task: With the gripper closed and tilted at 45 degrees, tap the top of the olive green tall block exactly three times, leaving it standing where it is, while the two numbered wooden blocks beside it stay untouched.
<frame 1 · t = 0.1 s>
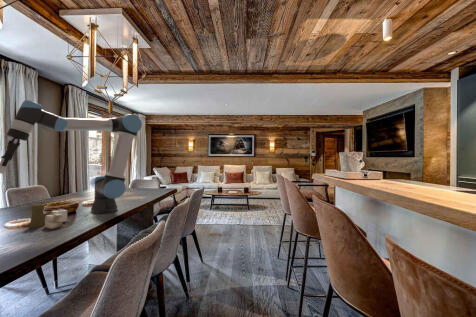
cream block numbered 7: (59, 221, 125), on the table
birch block numbered 1: (53, 226, 116), on the table
olive green tall block: (37, 226, 117), on the table
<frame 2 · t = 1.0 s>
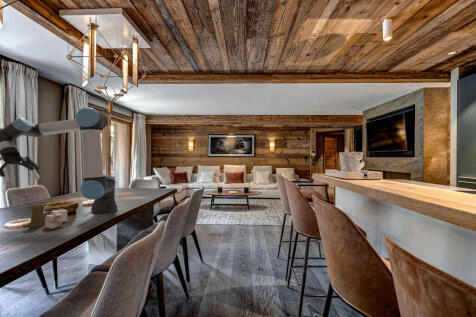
hand: (23, 180, 121), 23 cm above the table, tool tilted 45°, fingers open, 12 cm apart
nothing on the table moved.
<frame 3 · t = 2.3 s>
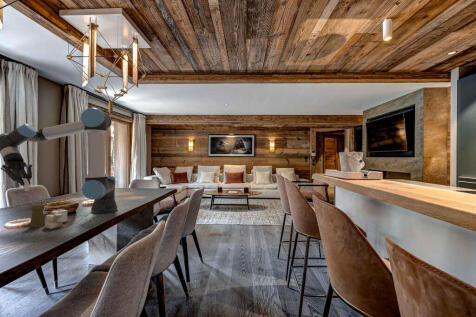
hand: (28, 189, 119), 18 cm above the table, tool tilted 45°, fingers closed
nothing on the table moved.
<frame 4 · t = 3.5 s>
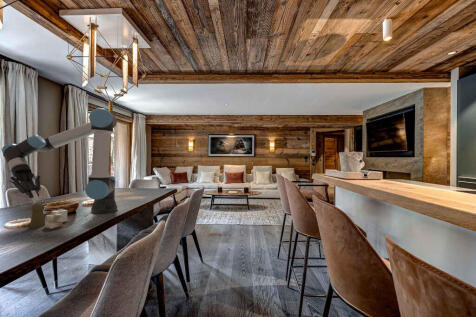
hand: (37, 202, 117), 12 cm above the table, tool tilted 45°, fingers closed
olive green tall block: (37, 226, 117), on the table, touching gripper
everything else where it was.
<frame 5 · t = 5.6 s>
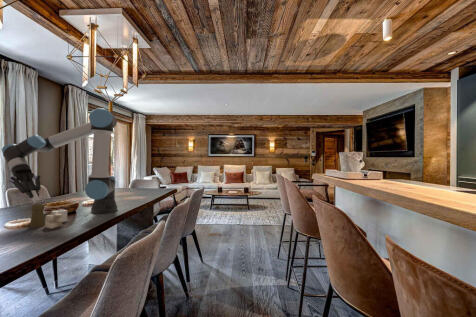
hand: (37, 201, 117), 12 cm above the table, tool tilted 45°, fingers closed
nothing on the table moved.
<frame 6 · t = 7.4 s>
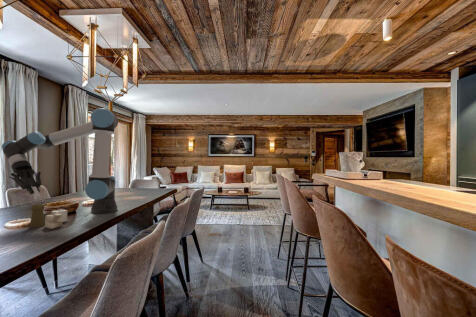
hand: (37, 197, 117), 14 cm above the table, tool tilted 45°, fingers closed
olive green tall block: (37, 226, 117), on the table
everything else where it was.
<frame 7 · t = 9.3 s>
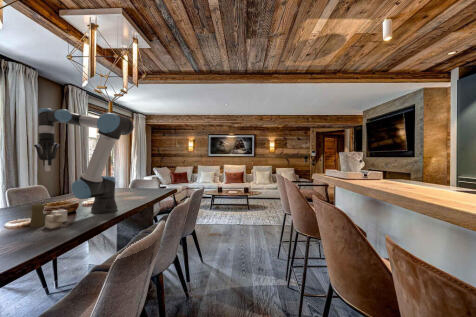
hand: (47, 170, 142), 26 cm above the table, tool pointing down, fingers closed
nothing on the table moved.
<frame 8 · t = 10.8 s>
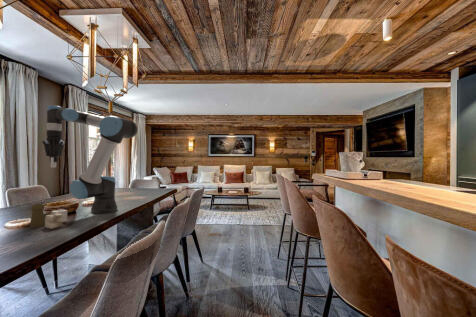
hand: (53, 167, 145), 28 cm above the table, tool pointing down, fingers closed
nothing on the table moved.
at the end: olive green tall block moved 0.2 cm from its start; olive green tall block tilted 0°; the gripper is holding nothing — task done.
